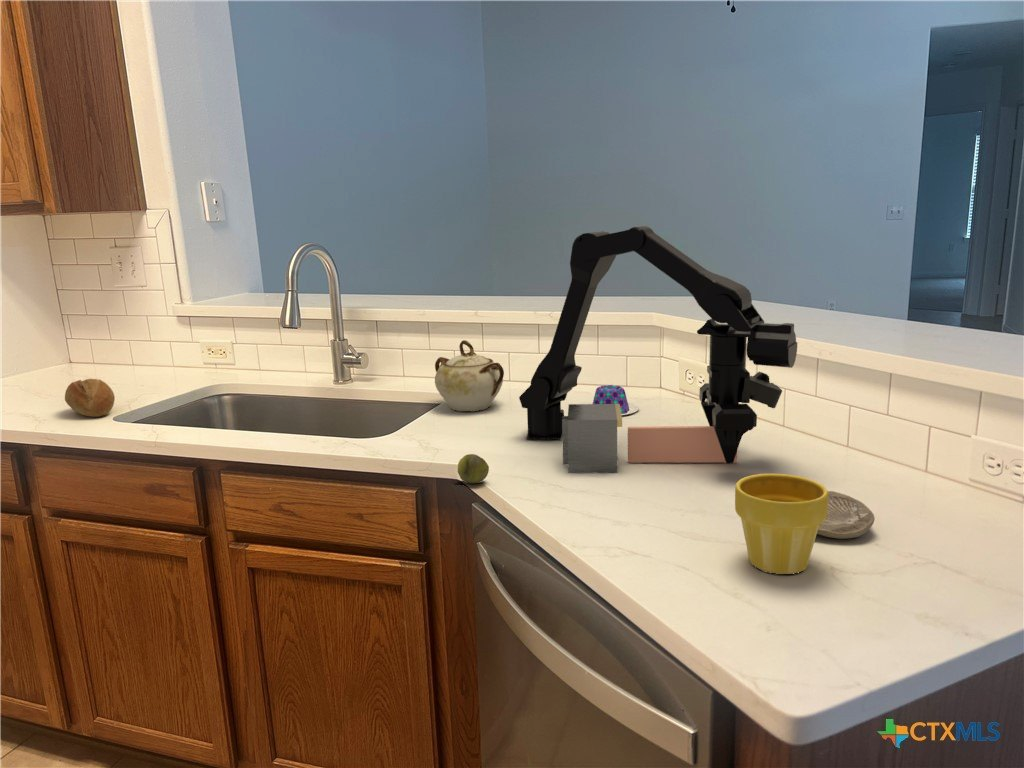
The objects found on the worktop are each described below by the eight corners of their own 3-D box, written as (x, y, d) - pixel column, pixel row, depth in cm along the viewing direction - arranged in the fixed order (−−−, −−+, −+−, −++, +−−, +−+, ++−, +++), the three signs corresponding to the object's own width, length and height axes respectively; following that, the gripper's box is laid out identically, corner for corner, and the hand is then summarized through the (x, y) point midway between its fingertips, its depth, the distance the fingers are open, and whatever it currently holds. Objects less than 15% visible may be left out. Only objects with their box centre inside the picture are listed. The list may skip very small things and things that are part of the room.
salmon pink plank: (627, 462, 130) (628, 428, 129) (627, 460, 131) (627, 426, 130) (737, 462, 128) (738, 427, 127) (735, 460, 129) (737, 426, 128)
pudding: (617, 422, 156) (617, 397, 155) (570, 413, 164) (570, 389, 162) (649, 409, 164) (649, 385, 163) (603, 401, 172) (603, 378, 171)
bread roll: (77, 424, 168) (71, 388, 166) (61, 412, 179) (55, 378, 177) (124, 415, 174) (119, 380, 172) (105, 404, 185) (100, 371, 183)
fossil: (823, 556, 97) (823, 536, 96) (768, 518, 107) (768, 500, 106) (892, 537, 99) (893, 517, 98) (832, 502, 110) (832, 484, 109)
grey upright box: (562, 472, 127) (561, 420, 125) (564, 453, 137) (563, 404, 135) (622, 472, 126) (622, 419, 124) (619, 453, 136) (619, 403, 134)
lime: (455, 481, 125) (453, 452, 123) (483, 476, 126) (482, 447, 125) (463, 490, 121) (462, 460, 119) (492, 485, 122) (491, 455, 121)
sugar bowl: (414, 408, 171) (410, 342, 167) (459, 394, 182) (456, 332, 179) (481, 421, 159) (478, 350, 155) (526, 405, 170) (524, 338, 166)
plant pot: (748, 538, 100) (751, 466, 98) (832, 556, 94) (837, 480, 92) (720, 569, 92) (723, 492, 90) (810, 591, 86) (815, 509, 84)
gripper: (793, 374, 115) (788, 472, 119) (765, 350, 133) (761, 437, 137) (717, 375, 116) (714, 472, 120) (699, 351, 135) (698, 437, 138)
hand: (724, 453), depth 129 cm, fingers open, 9 cm apart
